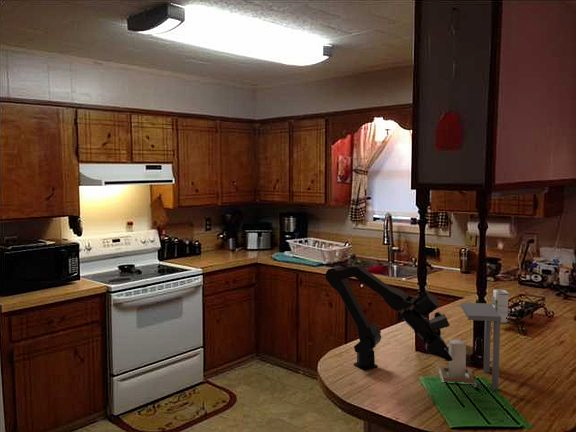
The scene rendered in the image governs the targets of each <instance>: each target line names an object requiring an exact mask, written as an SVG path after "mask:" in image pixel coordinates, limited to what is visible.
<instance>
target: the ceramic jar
mask: <svg viewBox="0 0 576 432" xmlns="http://www.w3.org/2000/svg"><path fill="white" fill-rule="evenodd" d="M448 348H449V351H448V353H449V354H450V356H451V357H452V359H453V360H452V361H448V367H449V368H448V376H449V377H456V378H465V372H466V368H467V366H466V364H467V361H466V359H467V342H465V341H464V340H461V339H451V340H449V341H448Z"/></svg>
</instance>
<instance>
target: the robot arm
mask: <svg viewBox="0 0 576 432" xmlns="http://www.w3.org/2000/svg"><path fill="white" fill-rule="evenodd" d="M324 278H325V280H326V282H327V283H328V284H329V285H330V286H331V288H333V290H335V291H336V292H337V293H338V294H339V296H340V298H341V301H342V302H343V304H344V306H345V307H346V309H347V312H348V313H349V315H350V316H351V319H352V320H353V322H354V324H355V326H356V329H357V331H356V332H357V337H358V339H359V342H357V344H355V345H354V346H353V349H354V352H355V353H356V362H353V366H356V367H357V368H359V369H360V370H362V371H367V370H370V369H375V368H378V365H377V364H376V363H375V361H376V359H375V350H374V348H376V347H377V345H378V344H379V343H380V342H381V340H382V335H381V333H382V331H381V330H380V329H379V327H378V324H377V322H374V323H372V322H371V321H369V320H368V318H367V316H366V314H365V312H364V311H363V309H362V307H361V305H360V303H359V302H358V300H357V298H356V295H355V294H354V292H353V290H352V289H351V286H350V281H349V279H351V278H355V279H357V280H358V281H359V282H360V283H362V284H364V285H365V286H366V287H368V288H369V289H370V290H372V291H373V292H375V293H376V294H377V295H379V296H380V297H381V298H382V300H383V301H384V302H385V304H386V305H387V306H389V308H390V309H392V310H393V311H395V312H397V313H396V317H397V318H396V322H398V323H399V322H401V321H402V320H403V321H404V322H405V323H406V324H407V325H408V326H409V327H410V328H411V329H412V330H413V332H414V334H416V335H418V336H419V337H420V339H422V342H423V343H425V350H426V352H427V353H428V354H429V355H430V356H431V355H432V356H436V357H438V358H442V359H444V360H446V361H448V362H449V361H452V360H453V359H452V357H451V356H450V354H449V346H448V345H447V344H446V342H445V340H444V339H443V338H442V335H441V333H442V332H441V330H442V329H444V328H449V327H450V323H449V321H448V318H447V316H446V314H444V313H441V312H440V311H437V312H436V310H437V309H438V308H439V307H440V306H441V303H440V301H439V300H438V299H437V297H436V296H435V295H433V294H432V293H430V292H429V291H428V290H425V291H424V292H423V293H421V295H420V296H418V297H415V296H412V295H409V294H408V293H406V291H404V290H401V289H399V288H397V287H394V286H390V285H388V284H387V283H386V282H384V281H382V279H380V278H378V277H377V276H376V275H374V274H373V273H371V272H369V271H368V270H367V269H365V268H364V267H363V266H362V265H360V264H355V265H350V266H341V265H335V266H333V267H331V268H328V269H327V270H326V272H325V276H324ZM434 311H435V312H434ZM433 312H434V315H433V317H432V318H428V317H427V316H429V315H430V314H431V313H433Z"/></svg>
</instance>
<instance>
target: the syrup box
mask: <svg viewBox="0 0 576 432" xmlns="http://www.w3.org/2000/svg"><path fill="white" fill-rule="evenodd" d="M492 292H493V293H492V306H493V307H494V308H495V310H496V311H497V312H498V313H499V315H500V316H501V321H500V324H502V323H503V324H504V323H505V324H507V323H508V316H509V315H508V313H509V311H508V310H509V292H508V291H507V290H505V289H493V290H492ZM506 317H507V319H506Z"/></svg>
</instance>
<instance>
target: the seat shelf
mask: <svg viewBox="0 0 576 432" xmlns="http://www.w3.org/2000/svg"><path fill="white" fill-rule="evenodd" d="M460 307H461V309H462V311H463V313H464V314H465V316H466V318H467V320H468V321H482V322H483V321H484V339H483V340H484V341H483V342H484V344H483V349H484V350H483V373H485V374H489V373H490V370H492V371H491V389H492V390H495V391H498V390H499V377H500V375H499V374H500V372H499V371H500V343H501V342H500V341H501V339H500V338H501V323H500V321H501V316H500V315H499V313H498V312H497V311H496V310H495V308H494V307H493V303H483V302H481V303H480V302H461V303H460ZM492 322H493V328H492ZM492 329H493V333H491V332H492V331H491V330H492ZM491 335H492V336H493V337H491ZM491 338H492V366H491V365H490V364H491ZM490 366H491V367H490ZM448 368H449V366H440V369H438V372H439V376H440V380H441V379H442V380H441V383H442V382H448V381H449V382H464V383H468V384H475V385H474V386H477V385H478V384H477V381H476V380H475V377H474V375H473V372H472V370H471V367H466V372H465V378H456V377H449V376H448ZM490 368H492V369H490Z"/></svg>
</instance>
